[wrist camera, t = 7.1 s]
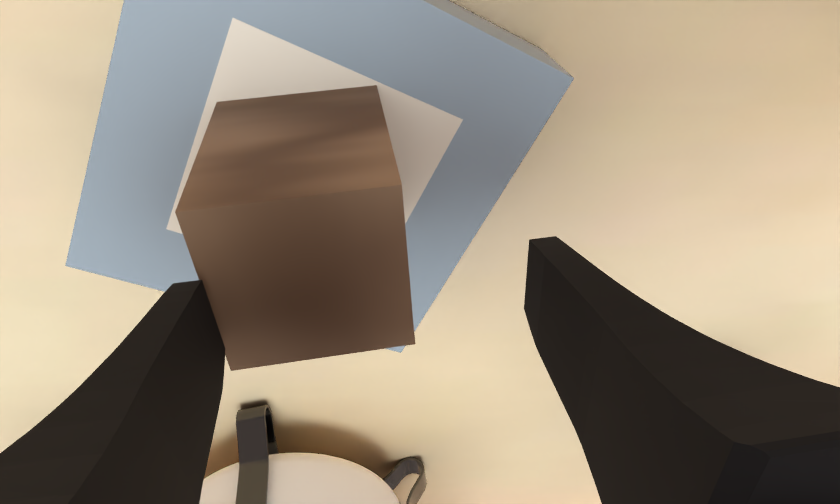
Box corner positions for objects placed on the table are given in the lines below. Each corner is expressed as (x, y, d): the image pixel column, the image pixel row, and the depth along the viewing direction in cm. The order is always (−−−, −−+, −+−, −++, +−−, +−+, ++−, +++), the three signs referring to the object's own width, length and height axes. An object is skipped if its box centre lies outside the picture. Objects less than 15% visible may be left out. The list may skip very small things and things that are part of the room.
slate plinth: (542, 49, 20) (574, 78, 17) (392, 303, 25) (401, 353, 23) (179, -142, 15) (154, -139, 13) (94, 216, 21) (64, 266, 19)
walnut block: (376, 84, 17) (401, 184, 12) (389, 217, 19) (415, 344, 14) (216, 101, 16) (175, 211, 11) (252, 235, 19) (231, 370, 14)
